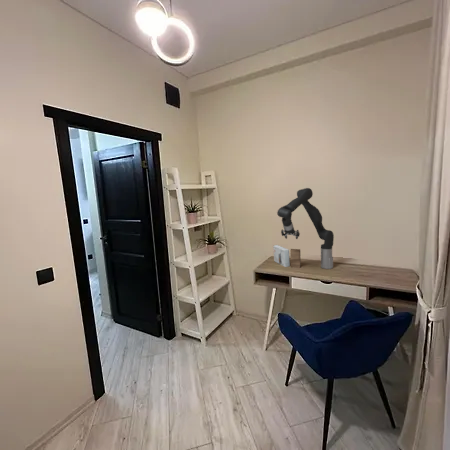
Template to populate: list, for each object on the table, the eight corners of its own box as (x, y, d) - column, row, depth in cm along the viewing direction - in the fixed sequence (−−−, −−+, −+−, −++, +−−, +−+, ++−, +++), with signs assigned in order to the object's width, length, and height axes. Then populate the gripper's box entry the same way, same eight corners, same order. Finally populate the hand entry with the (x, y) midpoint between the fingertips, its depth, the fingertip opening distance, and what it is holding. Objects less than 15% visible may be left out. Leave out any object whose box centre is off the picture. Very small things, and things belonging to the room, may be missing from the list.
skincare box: (273, 261, 251) (273, 245, 249) (278, 260, 253) (278, 244, 251) (284, 267, 231) (284, 250, 229) (290, 266, 233) (289, 249, 231)
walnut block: (299, 267, 227) (299, 250, 224) (290, 267, 230) (290, 249, 228) (300, 266, 230) (300, 249, 228) (291, 265, 234) (291, 248, 231)
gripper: (298, 222, 202) (300, 234, 213) (280, 222, 208) (284, 234, 220) (296, 230, 198) (299, 242, 209) (278, 230, 204) (282, 241, 216)
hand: (291, 238), depth 215 cm, fingers open, 8 cm apart
